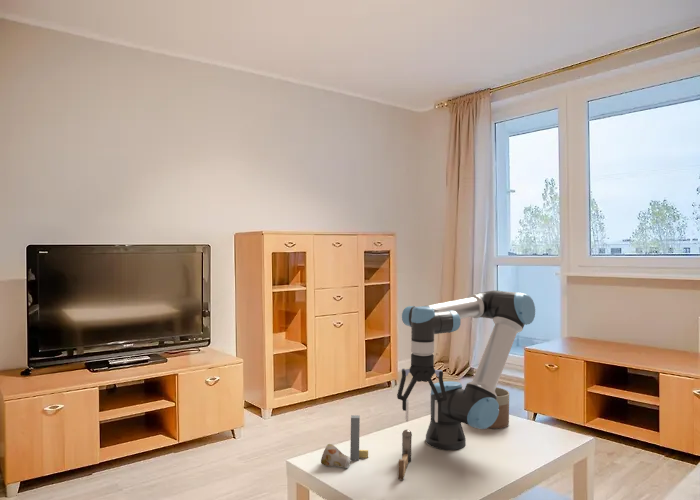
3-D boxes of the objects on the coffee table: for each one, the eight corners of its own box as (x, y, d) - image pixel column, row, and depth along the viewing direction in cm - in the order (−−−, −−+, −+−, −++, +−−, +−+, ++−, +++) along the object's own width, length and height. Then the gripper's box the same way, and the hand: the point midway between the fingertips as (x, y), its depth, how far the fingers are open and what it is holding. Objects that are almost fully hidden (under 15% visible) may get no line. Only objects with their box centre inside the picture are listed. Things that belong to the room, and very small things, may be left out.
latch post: (368, 456, 185) (368, 415, 185) (367, 461, 181) (368, 418, 181) (350, 456, 185) (351, 414, 185) (350, 460, 182) (350, 417, 182)
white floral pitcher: (349, 473, 172) (334, 448, 172) (326, 480, 176) (312, 455, 176) (357, 459, 179) (342, 435, 178) (334, 466, 183) (320, 442, 182)
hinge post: (411, 458, 184) (411, 428, 184) (411, 462, 180) (412, 431, 180) (401, 458, 184) (401, 428, 184) (402, 462, 181) (402, 431, 180)
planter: (502, 432, 211) (503, 398, 211) (465, 424, 220) (465, 392, 220) (513, 421, 225) (513, 389, 224) (477, 414, 233) (478, 384, 233)
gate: (403, 462, 180) (403, 445, 180) (408, 462, 180) (408, 445, 179) (398, 479, 167) (398, 460, 167) (403, 479, 166) (403, 461, 166)
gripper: (453, 351, 176) (452, 417, 176) (389, 350, 177) (388, 415, 177) (457, 356, 168) (456, 425, 168) (390, 354, 169) (389, 423, 170)
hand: (421, 420), depth 173 cm, fingers open, 9 cm apart
